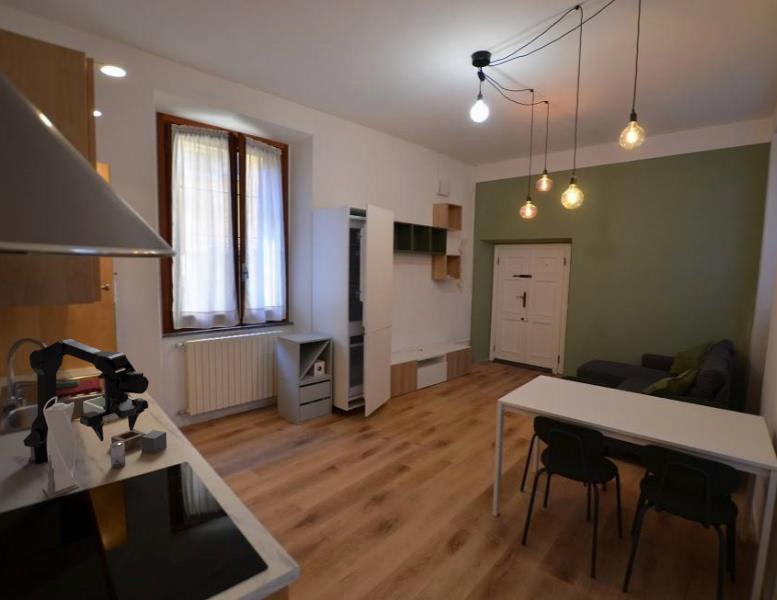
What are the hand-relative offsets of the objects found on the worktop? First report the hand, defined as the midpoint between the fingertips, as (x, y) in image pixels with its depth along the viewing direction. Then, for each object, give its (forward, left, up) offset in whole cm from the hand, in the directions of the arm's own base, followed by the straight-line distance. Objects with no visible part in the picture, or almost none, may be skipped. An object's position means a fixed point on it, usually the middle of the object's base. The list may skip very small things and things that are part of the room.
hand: (116, 435), depth 131 cm
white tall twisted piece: (-15, +2, -11) cm, 19 cm away
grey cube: (+13, +1, -11) cm, 17 cm away
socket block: (+10, +12, -11) cm, 19 cm away
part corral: (+24, +51, -11) cm, 57 cm away
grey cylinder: (0, 0, -11) cm, 11 cm away
